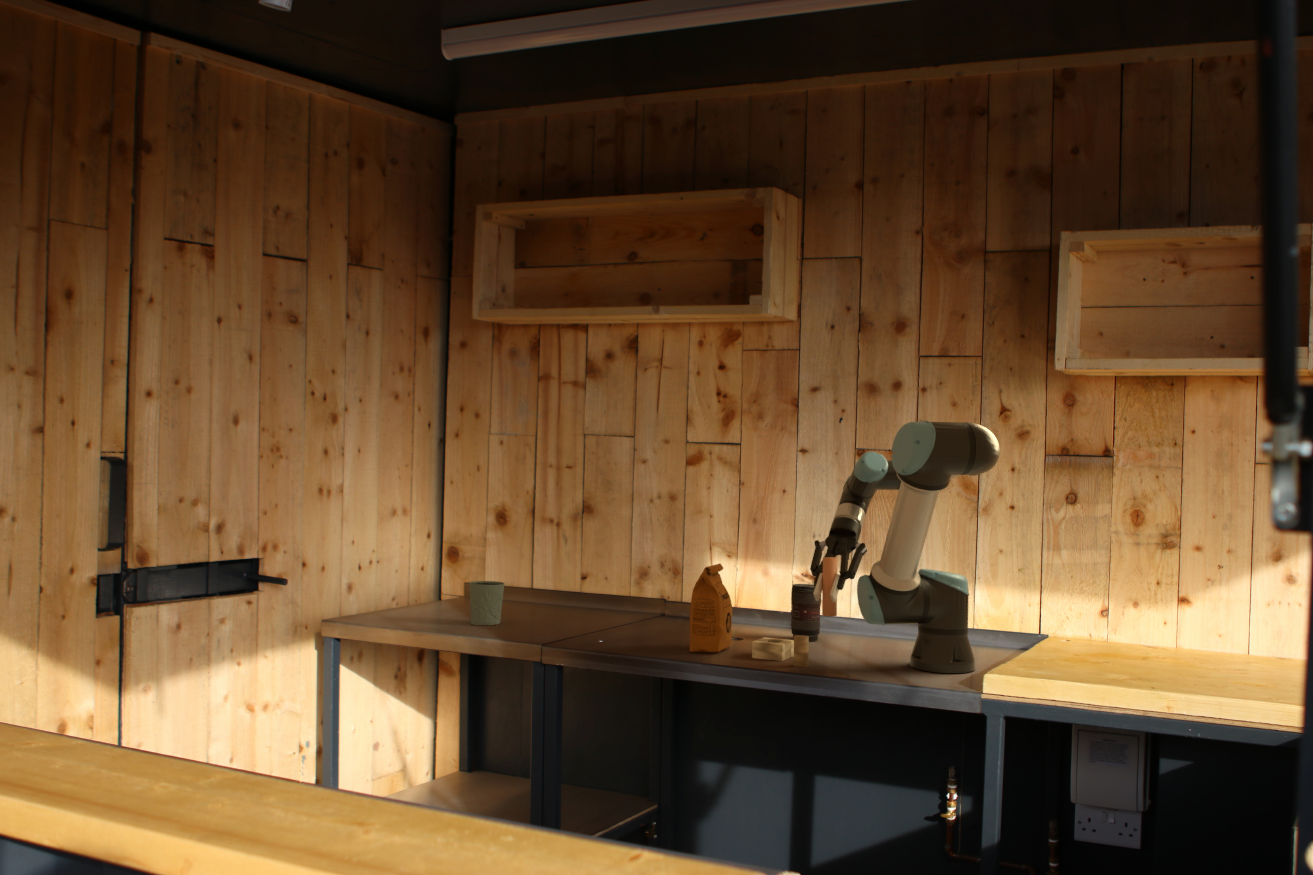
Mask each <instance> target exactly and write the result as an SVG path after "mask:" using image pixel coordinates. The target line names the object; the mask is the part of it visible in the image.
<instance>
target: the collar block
mask: <svg viewBox="0 0 1313 875" xmlns="http://www.w3.org/2000/svg"><path fill="white" fill-rule="evenodd" d="M751 649H752V650H751V652H752V653H751V658H752V659H760V660H768V661H777V662H784V661H785V660H788V659H790V658H794V640H793V639H786V638H785V639H783V638H773V637H762V638H759V639H756V640H753V641H751Z"/></svg>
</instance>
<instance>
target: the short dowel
mask: <svg viewBox="0 0 1313 875" xmlns="http://www.w3.org/2000/svg"><path fill="white" fill-rule="evenodd" d="M809 643H810V642H809V637H808V636H803V635H797V636H794V656H793V666H794V667H795V668H796V667H797V668H807V667H809V654H810V653H809V651H810V650H809V648H810V647H809V646H810V644H809Z"/></svg>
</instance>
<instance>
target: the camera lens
mask: <svg viewBox="0 0 1313 875" xmlns="http://www.w3.org/2000/svg"><path fill="white" fill-rule="evenodd" d="M814 590H815V586H814V584H811V583H810V584H809V583H793V584H792V588H791V594H790V595H791V596H790V599H791V600H790V601H791V610H790V616H791V621H790V627H791V628H790V629H791V634H792V640H794V636H797V635H803V636H808V637H809V643H810V642H817V641H818V639H819V635H820V629H821V605H822V595H821V596H820V599H819V601H816V600H815V597H814V594H813V593H814Z"/></svg>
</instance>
